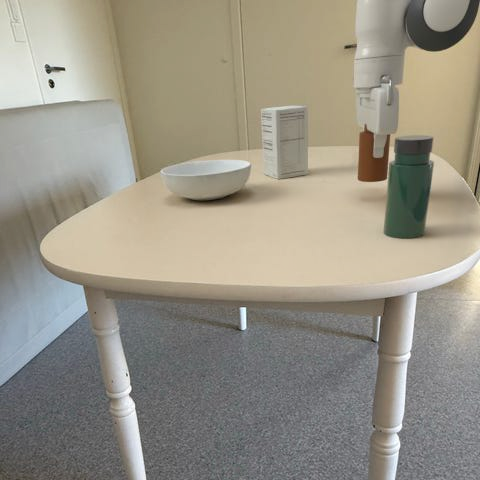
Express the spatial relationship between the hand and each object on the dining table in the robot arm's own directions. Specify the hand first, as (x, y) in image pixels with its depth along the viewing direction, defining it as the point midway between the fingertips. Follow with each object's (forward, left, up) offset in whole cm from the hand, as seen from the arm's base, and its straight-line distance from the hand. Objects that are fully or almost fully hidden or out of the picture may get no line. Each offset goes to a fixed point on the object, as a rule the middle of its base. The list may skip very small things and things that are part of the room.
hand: (373, 154), depth 89 cm
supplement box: (+16, -32, -9) cm, 37 cm away
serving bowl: (+35, -11, -9) cm, 38 cm away
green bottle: (-1, +23, -9) cm, 25 cm away
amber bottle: (0, 0, -5) cm, 5 cm away
